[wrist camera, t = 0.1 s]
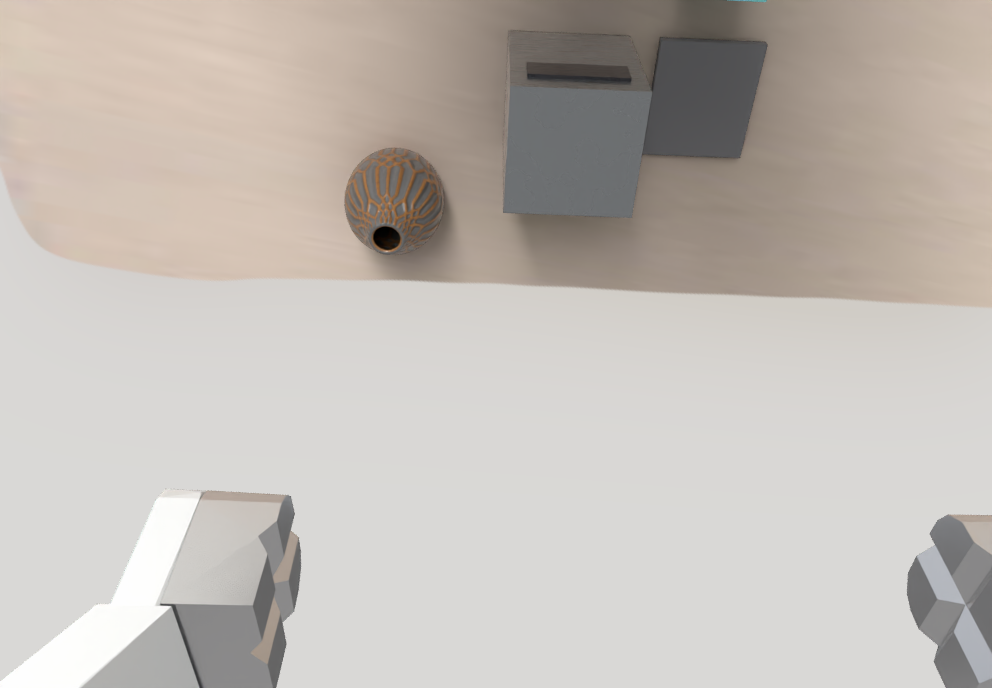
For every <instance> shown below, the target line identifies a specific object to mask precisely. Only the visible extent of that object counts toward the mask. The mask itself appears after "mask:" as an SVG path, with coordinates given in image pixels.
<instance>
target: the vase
mask: <svg viewBox="0 0 992 688" xmlns="http://www.w3.org/2000/svg"><path fill="white" fill-rule="evenodd" d="M443 208H444V194H443V188H442V184H441V181H440V179H439V177H438V175H437V173H436V171H435V170H434V168H433V167H432V166H431V164H430V163H429V162H428V161H427V160H425V159H424V158H423V157H421V156H420V155H418V154H417V153H415V152H412V151H410V150H406V149H401V148H388V149H383V150H380V151H377V152H375V153H373V154H371V155H369V156H368V157H366V158H365V159H364V160H363V161H362V162H361V163H360V164H359V165H358V166H357V167H356V168H355V170H354V171H353V173H352V175H351V177H350V179H349V181H348V184H347V187H346V192H345V212H346V216H347V220H348V222H349V225H350V227H351V229H352V231H353V232H354V234H355V235H356V236H357V238H358V239H359V240H360V241H361V242H362V243H363V244H365V245H366V246H368V247H369V248H371V249H373V250H375V251H377V252H379V253H382V254H391V255H397V254H404V253H408V252H411V251H413V250H415V249H417V248H419V247H420V246H422V245H423V244H424V243H425V242H427V241H428V240H429V239H430V237H431V236H432V235H433V234H434V232H435V231H436V229H437V227H438V225H439V223H440V221H441V218H442V214H443Z"/></svg>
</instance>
